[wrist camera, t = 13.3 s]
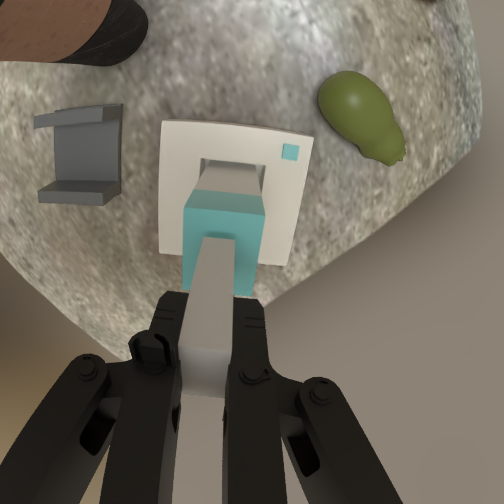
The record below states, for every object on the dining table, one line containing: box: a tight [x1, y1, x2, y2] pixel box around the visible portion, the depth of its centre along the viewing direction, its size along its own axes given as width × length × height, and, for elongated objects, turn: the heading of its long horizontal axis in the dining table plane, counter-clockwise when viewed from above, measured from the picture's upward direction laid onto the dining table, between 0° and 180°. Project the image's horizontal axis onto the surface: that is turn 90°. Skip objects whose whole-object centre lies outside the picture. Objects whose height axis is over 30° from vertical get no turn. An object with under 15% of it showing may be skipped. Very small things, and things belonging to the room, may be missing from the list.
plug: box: [182, 160, 266, 296], centre depth 20 cm, size 4×5×12 cm
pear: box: [318, 71, 406, 167], centre depth 20 cm, size 6×5×10 cm
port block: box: [158, 119, 314, 266], centre depth 24 cm, size 12×12×4 cm
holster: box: [34, 104, 123, 206], centre depth 21 cm, size 8×9×4 cm
